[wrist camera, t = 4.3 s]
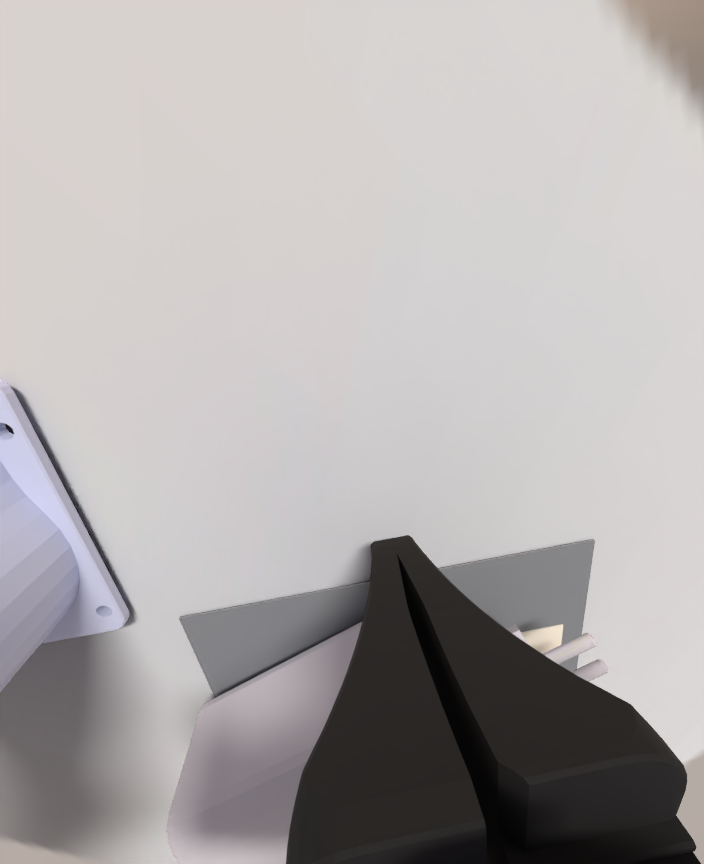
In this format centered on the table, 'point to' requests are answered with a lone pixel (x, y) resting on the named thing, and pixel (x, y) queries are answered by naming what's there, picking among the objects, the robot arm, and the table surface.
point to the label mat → (344, 606)
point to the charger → (271, 753)
